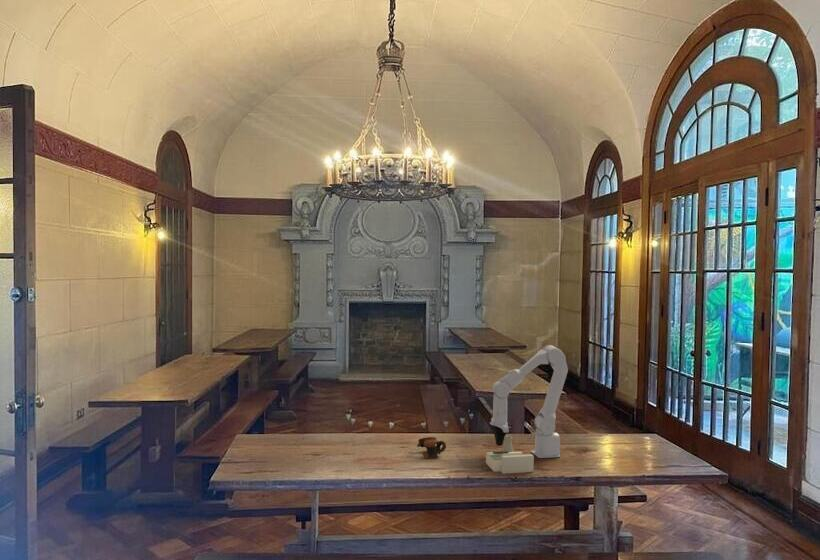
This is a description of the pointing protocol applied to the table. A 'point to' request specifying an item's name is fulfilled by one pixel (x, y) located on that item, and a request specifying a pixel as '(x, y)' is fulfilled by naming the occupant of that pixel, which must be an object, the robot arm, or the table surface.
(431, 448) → the pottery mug
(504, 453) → the pad
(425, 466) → the table surface
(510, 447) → the grey vase
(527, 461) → the gauge frame
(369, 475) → the table surface
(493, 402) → the robot arm
